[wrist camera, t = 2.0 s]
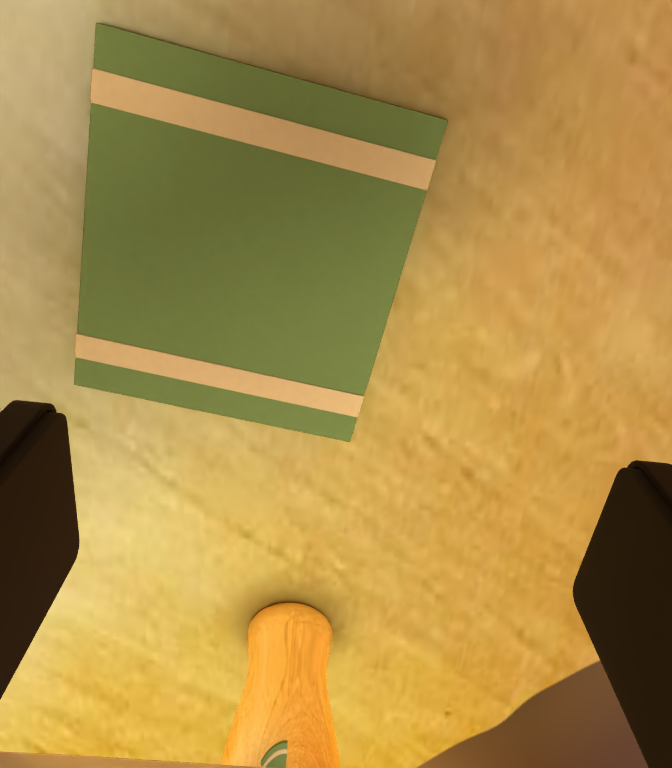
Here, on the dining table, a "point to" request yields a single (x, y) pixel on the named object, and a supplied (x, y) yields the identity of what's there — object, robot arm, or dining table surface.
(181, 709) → the dining table surface
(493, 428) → the dining table surface
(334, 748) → the beer glass
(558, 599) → the dining table surface
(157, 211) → the towel
